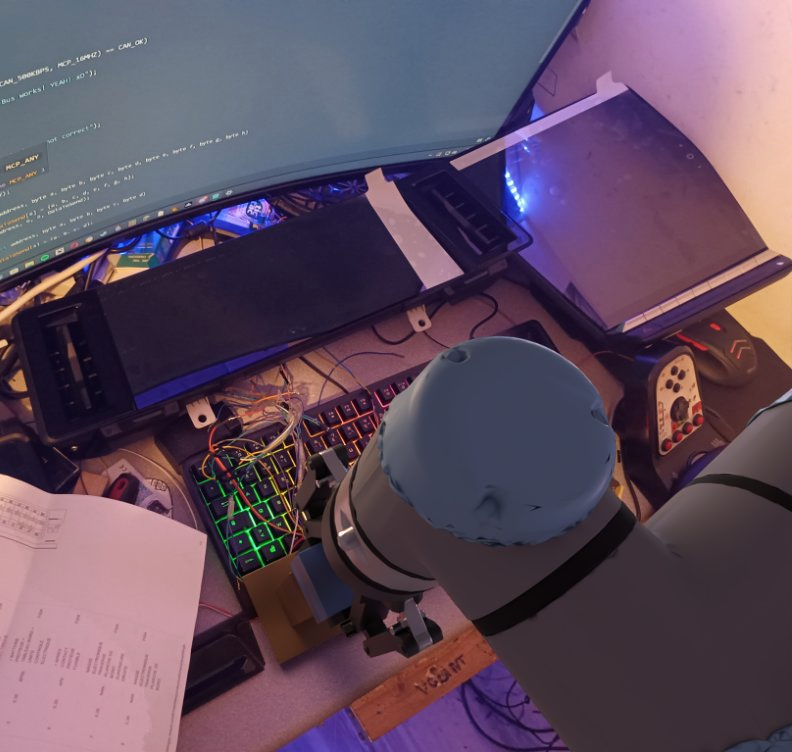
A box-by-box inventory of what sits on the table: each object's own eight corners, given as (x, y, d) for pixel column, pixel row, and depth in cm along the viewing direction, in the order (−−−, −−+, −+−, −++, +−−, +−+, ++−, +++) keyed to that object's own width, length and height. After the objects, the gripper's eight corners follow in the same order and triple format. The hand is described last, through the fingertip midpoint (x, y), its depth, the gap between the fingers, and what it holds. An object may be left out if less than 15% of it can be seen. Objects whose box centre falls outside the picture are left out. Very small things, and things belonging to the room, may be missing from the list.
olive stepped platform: (358, 623, 72) (389, 611, 61) (278, 664, 70) (295, 660, 59) (319, 541, 75) (341, 516, 64) (241, 578, 73) (250, 558, 62)
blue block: (372, 596, 57) (387, 587, 53) (317, 624, 56) (327, 617, 51) (343, 538, 59) (356, 525, 54) (289, 564, 58) (297, 553, 53)
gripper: (265, 400, 40) (240, 503, 61) (425, 724, 34) (336, 714, 55) (381, 354, 42) (318, 469, 63) (550, 652, 36) (419, 669, 57)
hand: (327, 583), depth 59 cm, fingers closed on blue block, 5 cm apart
